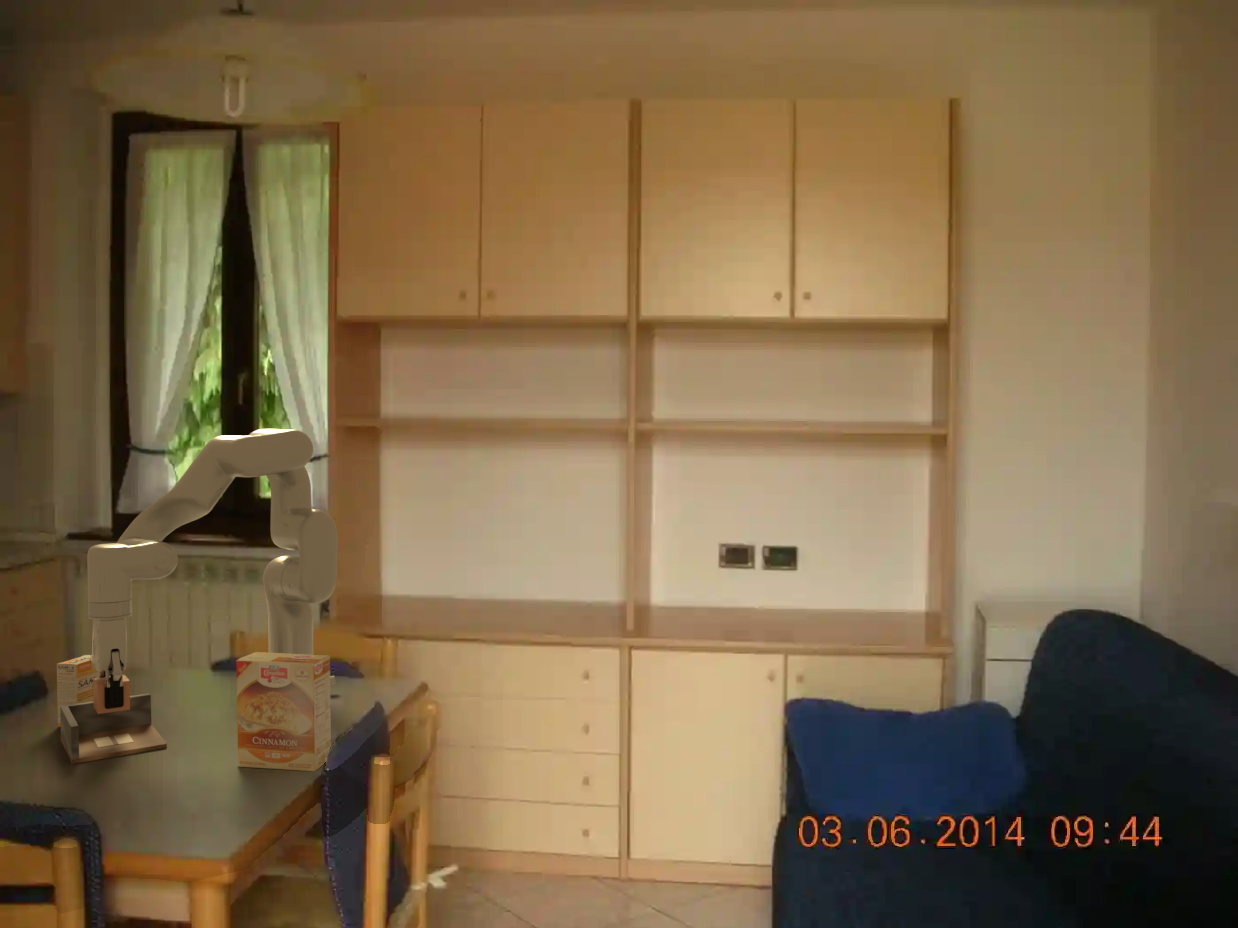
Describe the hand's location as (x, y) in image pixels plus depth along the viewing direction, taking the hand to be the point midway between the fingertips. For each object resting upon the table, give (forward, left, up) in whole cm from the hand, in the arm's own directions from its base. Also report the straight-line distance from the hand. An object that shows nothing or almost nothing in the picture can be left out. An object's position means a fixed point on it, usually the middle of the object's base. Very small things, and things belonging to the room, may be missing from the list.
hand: (111, 702), depth 198 cm
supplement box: (+3, -20, -8) cm, 21 cm away
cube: (0, 0, -1) cm, 1 cm away
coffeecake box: (-24, +28, -8) cm, 38 cm away
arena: (0, -1, -8) cm, 8 cm away
